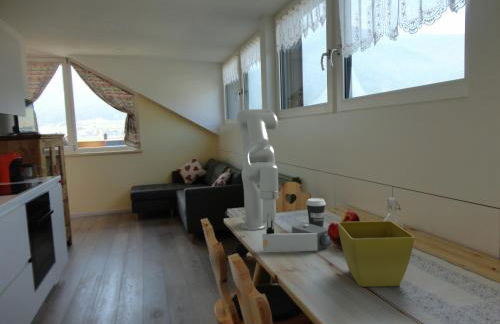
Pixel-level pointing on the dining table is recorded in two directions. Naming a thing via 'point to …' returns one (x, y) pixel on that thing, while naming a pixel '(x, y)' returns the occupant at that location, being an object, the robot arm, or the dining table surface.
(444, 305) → the dining table surface
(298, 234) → the side door
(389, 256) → the flower pot
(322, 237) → the camera body
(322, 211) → the coffee cup
